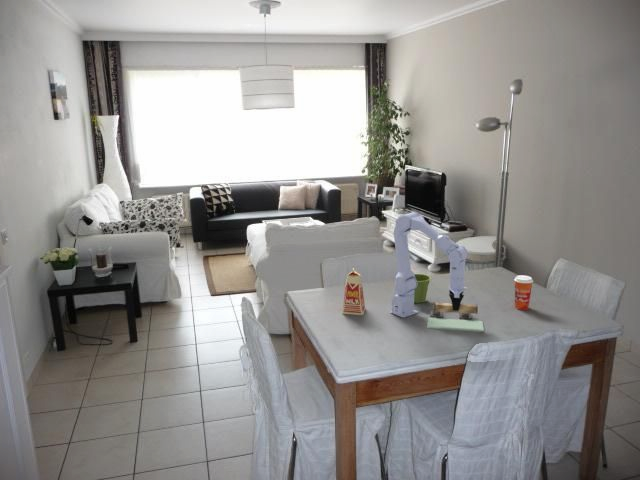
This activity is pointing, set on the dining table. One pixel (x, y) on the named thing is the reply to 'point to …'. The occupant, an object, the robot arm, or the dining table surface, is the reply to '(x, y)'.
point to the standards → (439, 314)
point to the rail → (462, 309)
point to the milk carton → (354, 295)
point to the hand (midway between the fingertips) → (455, 308)
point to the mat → (455, 324)
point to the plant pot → (421, 287)
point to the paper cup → (522, 291)
